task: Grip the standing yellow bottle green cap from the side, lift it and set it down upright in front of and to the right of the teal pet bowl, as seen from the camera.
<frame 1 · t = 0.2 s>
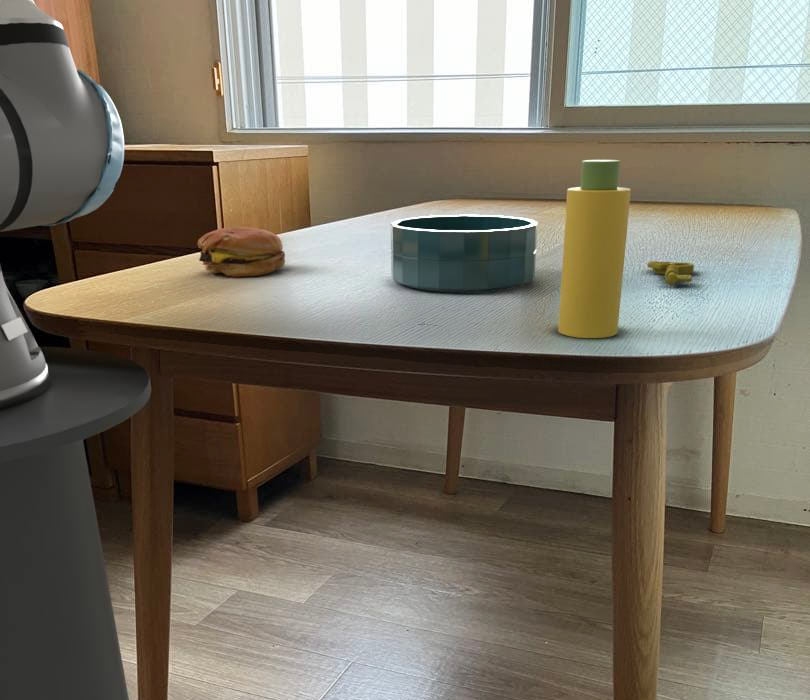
teal pet bowl: (462, 281, 95), on the table
burger: (244, 272, 103), on the table
yellow bottle green cap: (587, 331, 73), on the table
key: (668, 279, 96), on the table
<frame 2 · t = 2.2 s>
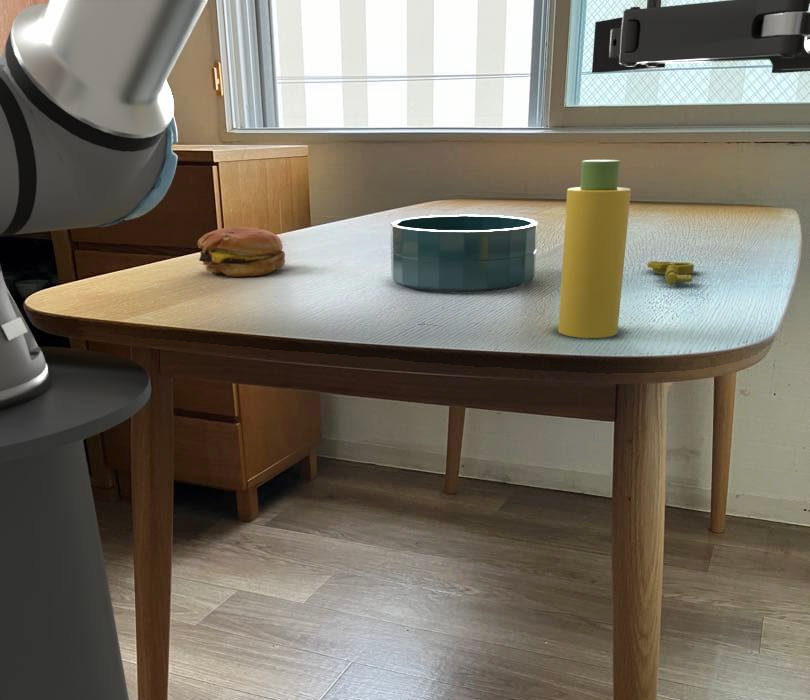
hand: (692, 48, 56), 20 cm above the table, tool horizontal, fingers open, 13 cm apart
nothing on the table moved.
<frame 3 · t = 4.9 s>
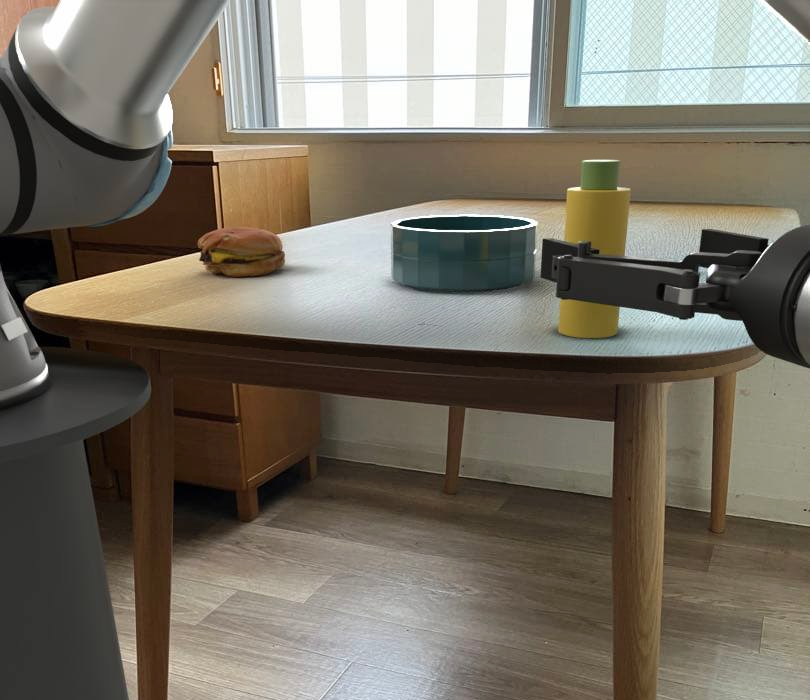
hand: (626, 252, 66), 7 cm above the table, tool horizontal, fingers open, 13 cm apart
nothing on the table moved.
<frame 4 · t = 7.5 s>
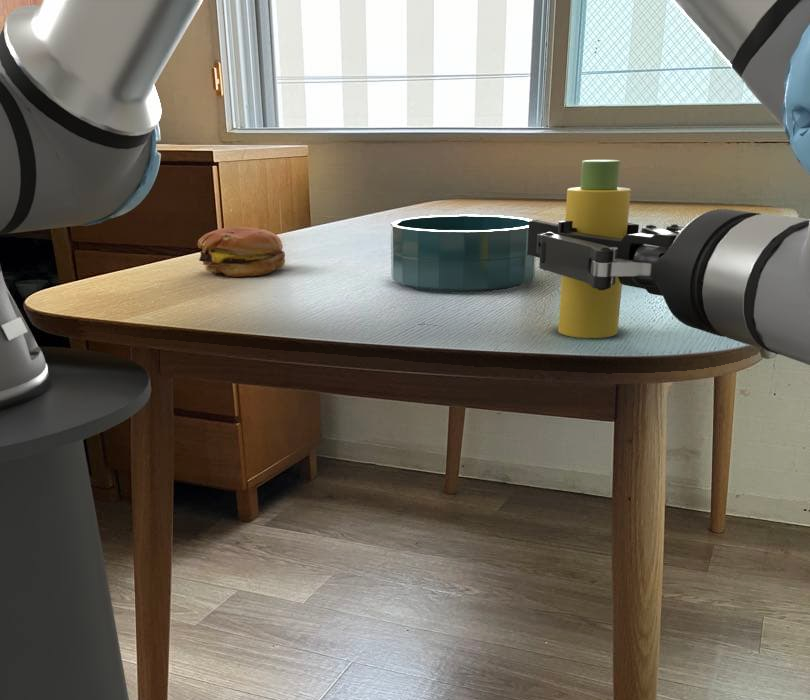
hand: (561, 235, 74), 7 cm above the table, tool horizontal, fingers closed on yellow bottle green cap, 5 cm apart
yellow bottle green cap: (587, 331, 73), on the table, touching gripper
everything else where it was.
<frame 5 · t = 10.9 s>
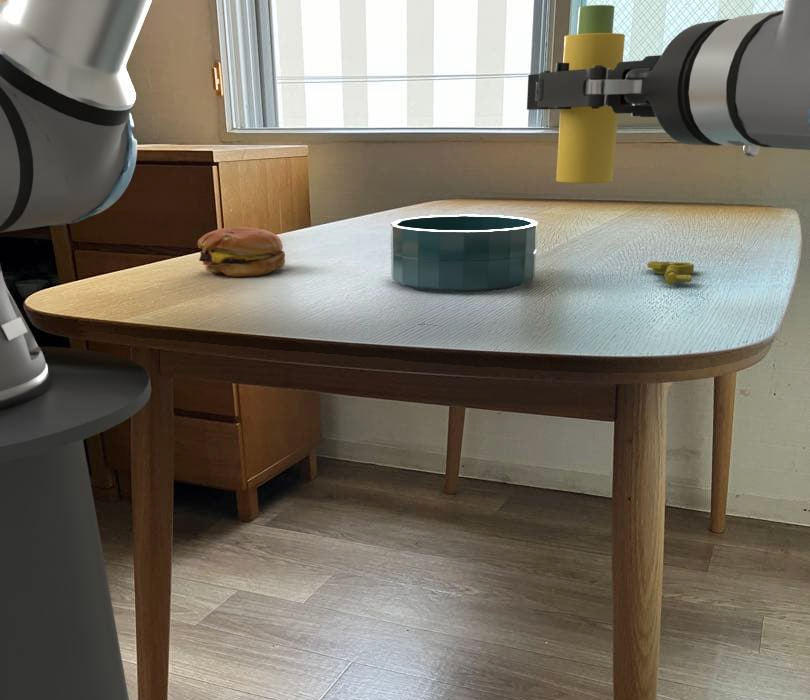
hand: (559, 92, 78), 18 cm above the table, tool horizontal, fingers closed on yellow bottle green cap, 5 cm apart
yellow bottle green cap: (584, 181, 77), point 11 cm above the table, touching gripper
everything else where it was.
when the fingers open (7 cm above the table, at t = 14.6 s): yellow bottle green cap stays where it is, on the table.
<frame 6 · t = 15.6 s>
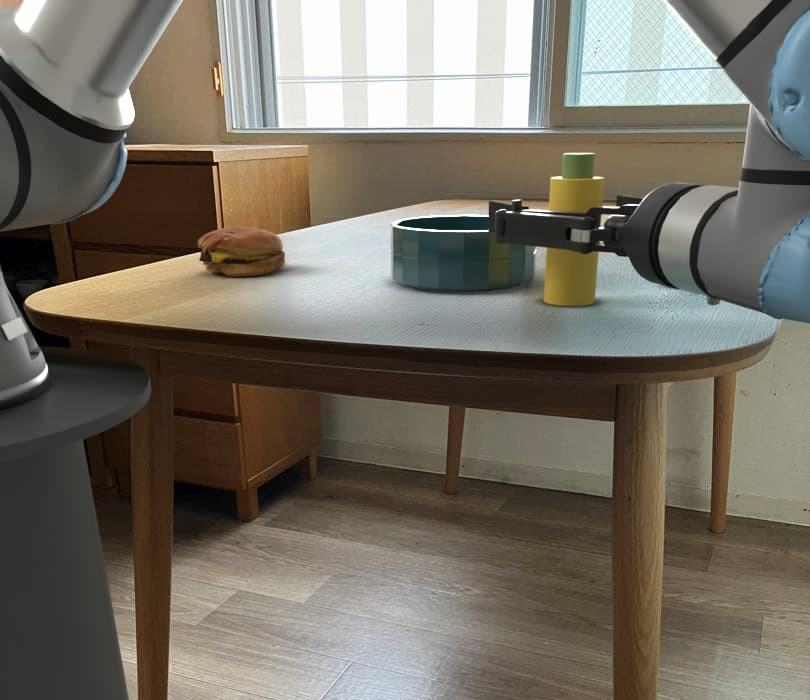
hand: (556, 212, 84), 8 cm above the table, tool horizontal, fingers open, 13 cm apart
yellow bottle green cap: (568, 301, 85), on the table
everything else where it was.
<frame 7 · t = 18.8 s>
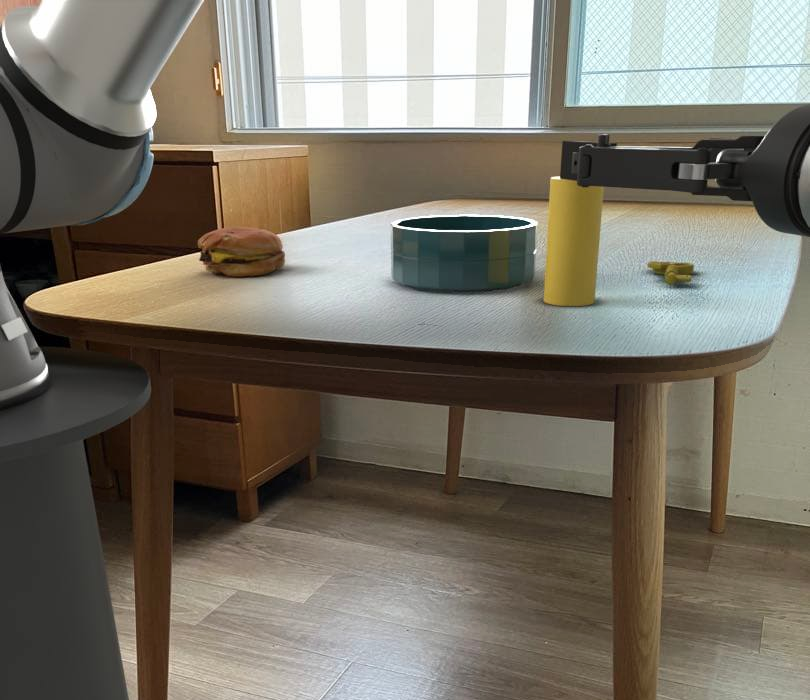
hand: (640, 158, 71), 13 cm above the table, tool horizontal, fingers open, 13 cm apart
nothing on the table moved.
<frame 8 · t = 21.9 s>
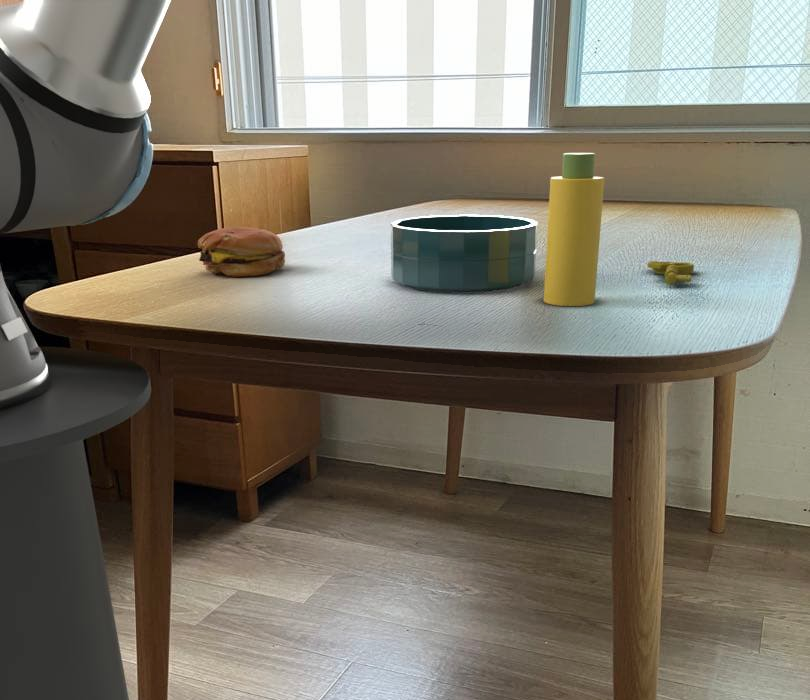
nothing on the table moved.
at the end: yellow bottle green cap inside the target area on the table beside the teal pet bowl (0.1 cm from its centre), on the table; yellow bottle green cap tilted 0°; the gripper is holding nothing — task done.
